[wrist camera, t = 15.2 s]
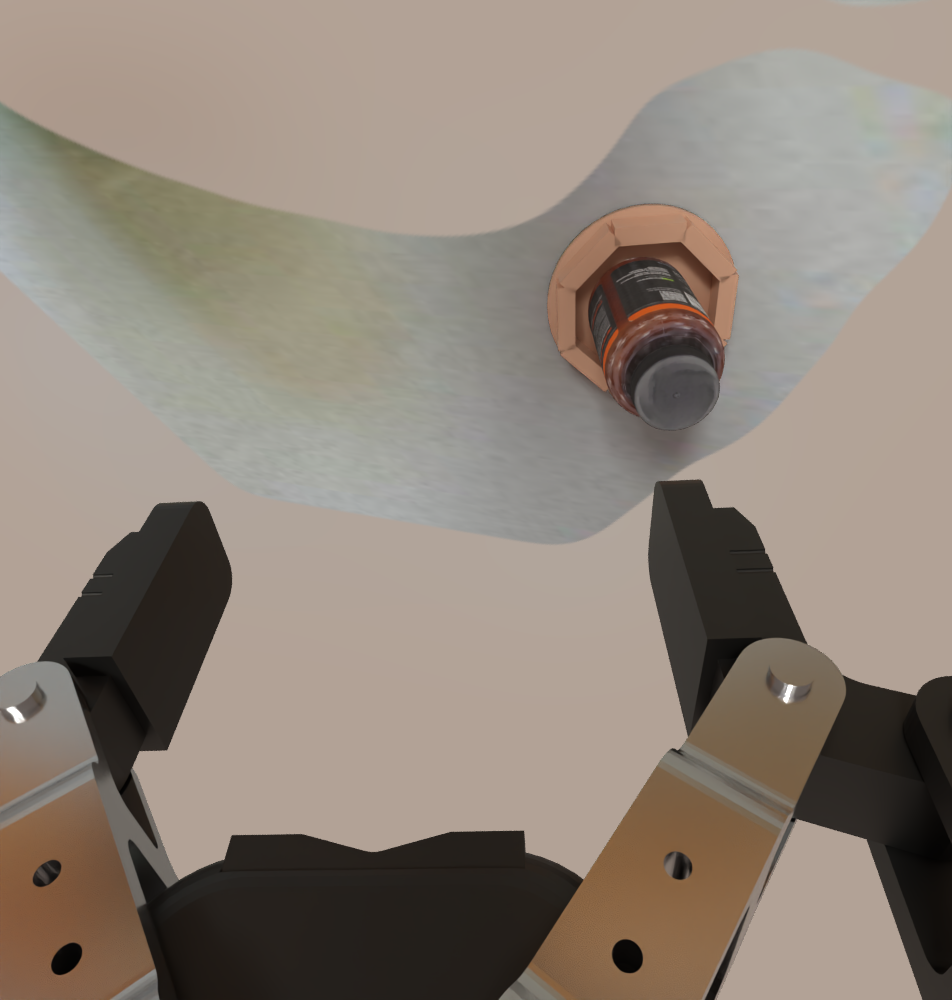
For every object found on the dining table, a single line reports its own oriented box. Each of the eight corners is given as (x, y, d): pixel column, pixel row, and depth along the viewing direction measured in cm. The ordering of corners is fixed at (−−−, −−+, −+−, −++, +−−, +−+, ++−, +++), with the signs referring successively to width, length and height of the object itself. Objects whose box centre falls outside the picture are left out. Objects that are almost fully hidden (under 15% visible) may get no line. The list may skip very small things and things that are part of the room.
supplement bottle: (603, 363, 45) (630, 465, 36) (572, 277, 42) (594, 364, 32) (698, 328, 43) (752, 425, 34) (674, 236, 40) (726, 316, 31)
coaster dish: (544, 212, 40) (547, 223, 38) (746, 195, 39) (758, 206, 37) (549, 387, 47) (551, 404, 45) (721, 376, 46) (730, 392, 44)
